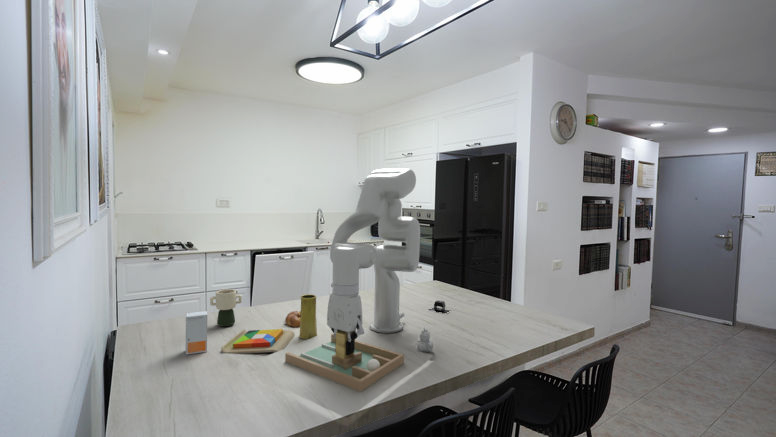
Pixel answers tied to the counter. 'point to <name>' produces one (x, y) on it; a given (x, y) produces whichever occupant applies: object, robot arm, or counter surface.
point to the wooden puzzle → (258, 341)
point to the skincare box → (196, 332)
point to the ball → (373, 365)
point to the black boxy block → (440, 304)
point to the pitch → (355, 375)
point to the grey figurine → (425, 342)
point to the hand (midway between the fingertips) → (344, 351)
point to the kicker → (344, 352)
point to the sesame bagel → (293, 319)
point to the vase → (308, 317)
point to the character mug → (225, 306)
